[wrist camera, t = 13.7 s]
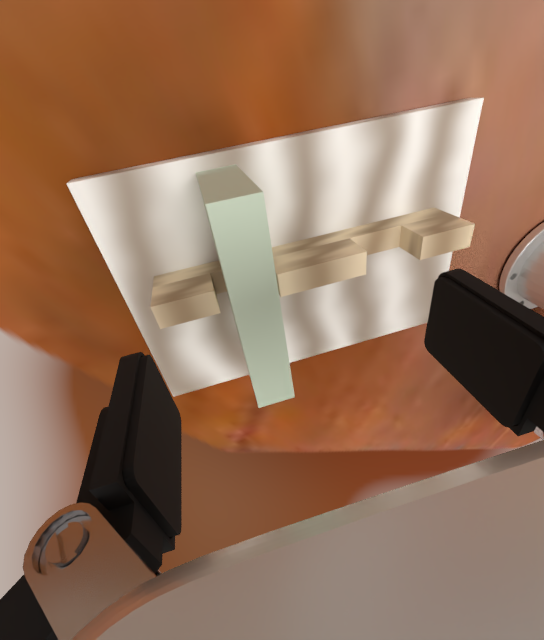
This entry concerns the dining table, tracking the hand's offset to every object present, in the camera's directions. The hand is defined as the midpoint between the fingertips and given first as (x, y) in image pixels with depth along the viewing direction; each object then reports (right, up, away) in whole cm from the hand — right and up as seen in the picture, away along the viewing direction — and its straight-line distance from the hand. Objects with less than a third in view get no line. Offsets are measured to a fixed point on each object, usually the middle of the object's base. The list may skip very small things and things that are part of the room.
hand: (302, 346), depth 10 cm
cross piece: (-4, +6, +18) cm, 19 cm away
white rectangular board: (+2, +6, +21) cm, 22 cm away
